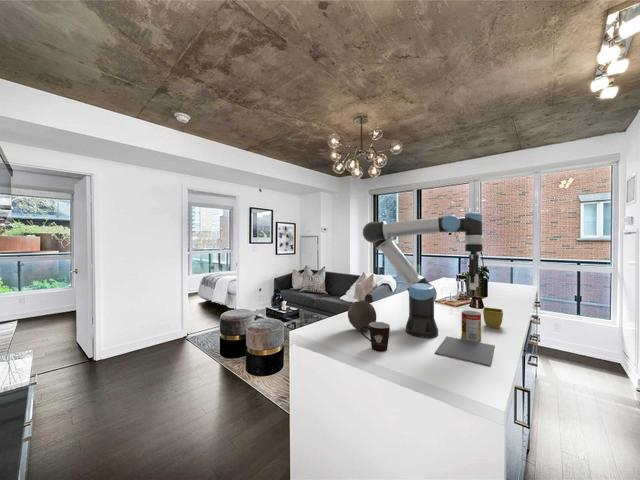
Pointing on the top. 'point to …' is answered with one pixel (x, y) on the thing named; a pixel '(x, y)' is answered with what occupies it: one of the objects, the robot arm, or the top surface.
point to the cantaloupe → (361, 314)
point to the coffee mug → (378, 335)
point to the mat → (466, 350)
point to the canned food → (471, 325)
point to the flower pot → (492, 317)
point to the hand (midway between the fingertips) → (474, 288)
